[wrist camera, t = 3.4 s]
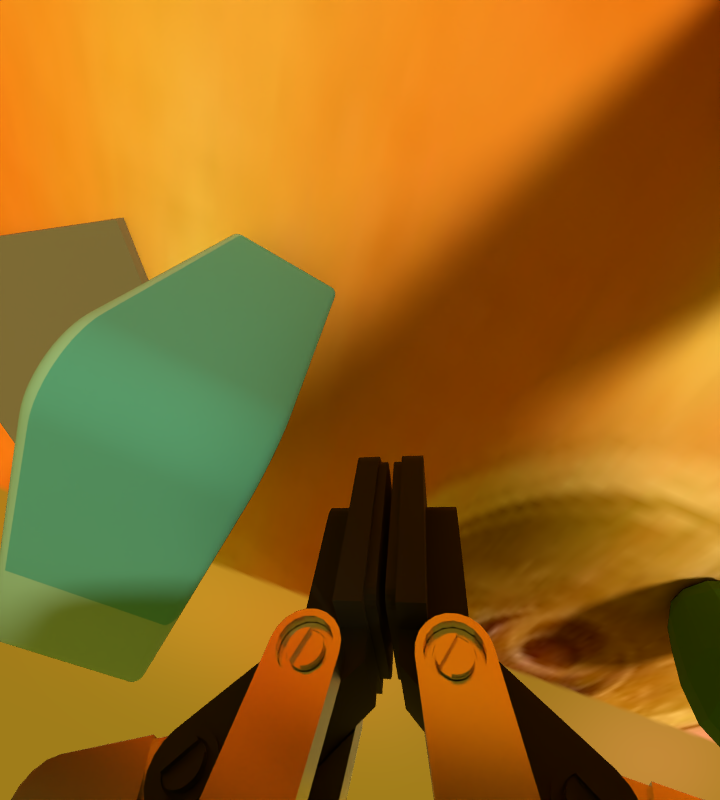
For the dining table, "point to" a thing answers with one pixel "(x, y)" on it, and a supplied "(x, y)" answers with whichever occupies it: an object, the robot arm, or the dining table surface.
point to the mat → (55, 294)
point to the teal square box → (149, 451)
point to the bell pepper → (698, 651)
